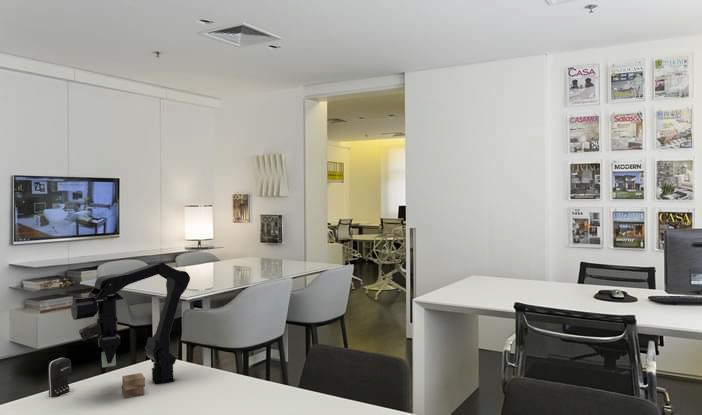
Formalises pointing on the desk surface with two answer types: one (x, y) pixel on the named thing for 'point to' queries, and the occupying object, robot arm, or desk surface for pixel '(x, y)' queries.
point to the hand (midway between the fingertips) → (108, 361)
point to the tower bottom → (132, 392)
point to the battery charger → (58, 376)
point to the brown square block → (133, 381)
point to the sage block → (104, 361)
